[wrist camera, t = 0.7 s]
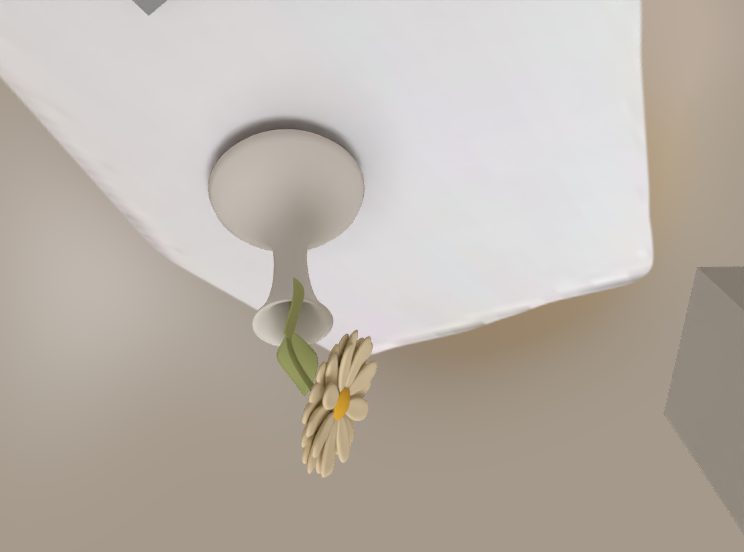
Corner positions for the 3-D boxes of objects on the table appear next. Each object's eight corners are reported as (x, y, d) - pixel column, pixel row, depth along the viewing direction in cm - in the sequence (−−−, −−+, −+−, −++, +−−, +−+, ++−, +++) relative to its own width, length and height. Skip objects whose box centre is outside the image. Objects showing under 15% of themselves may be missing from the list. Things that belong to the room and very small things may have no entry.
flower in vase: (342, 238, 57) (375, 538, 41) (202, 222, 54) (178, 539, 38) (387, 110, 48) (452, 432, 32) (221, 81, 45) (200, 422, 29)
